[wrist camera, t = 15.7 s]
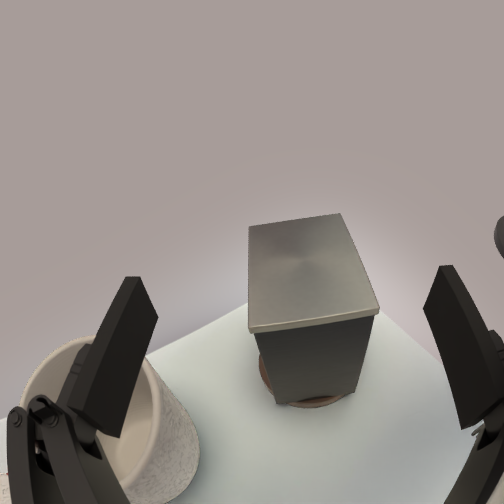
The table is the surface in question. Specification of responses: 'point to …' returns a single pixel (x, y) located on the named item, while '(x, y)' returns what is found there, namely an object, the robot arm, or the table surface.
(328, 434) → the table surface
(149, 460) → the planter
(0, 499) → the beverage can
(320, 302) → the bin
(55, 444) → the robot arm
